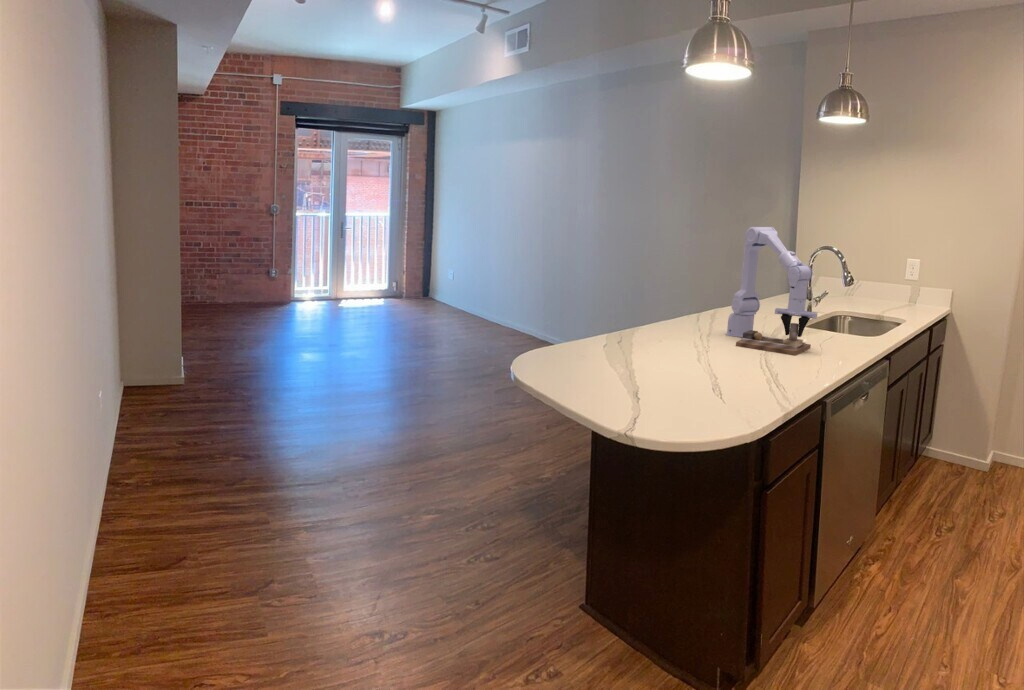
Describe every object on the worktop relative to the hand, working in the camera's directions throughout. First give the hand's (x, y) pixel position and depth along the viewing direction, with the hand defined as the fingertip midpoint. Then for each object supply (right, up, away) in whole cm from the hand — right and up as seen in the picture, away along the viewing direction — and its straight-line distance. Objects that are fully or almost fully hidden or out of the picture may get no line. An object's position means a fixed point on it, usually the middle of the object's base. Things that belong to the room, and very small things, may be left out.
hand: (793, 335), depth 263 cm
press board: (-5, -4, +6) cm, 9 cm away
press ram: (0, -4, +1) cm, 4 cm away
